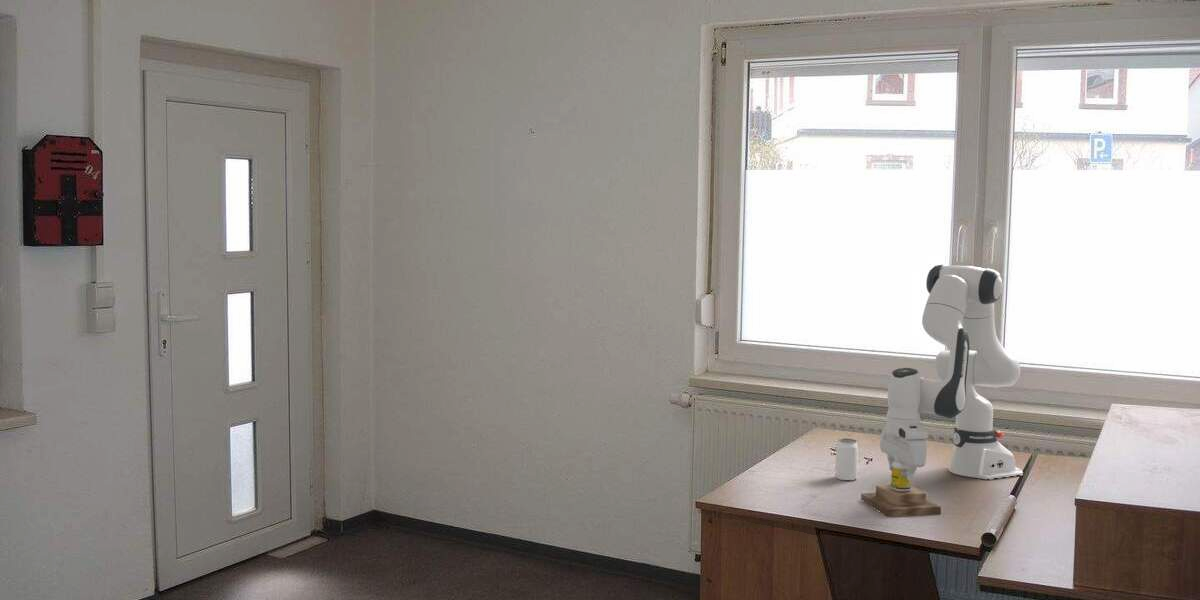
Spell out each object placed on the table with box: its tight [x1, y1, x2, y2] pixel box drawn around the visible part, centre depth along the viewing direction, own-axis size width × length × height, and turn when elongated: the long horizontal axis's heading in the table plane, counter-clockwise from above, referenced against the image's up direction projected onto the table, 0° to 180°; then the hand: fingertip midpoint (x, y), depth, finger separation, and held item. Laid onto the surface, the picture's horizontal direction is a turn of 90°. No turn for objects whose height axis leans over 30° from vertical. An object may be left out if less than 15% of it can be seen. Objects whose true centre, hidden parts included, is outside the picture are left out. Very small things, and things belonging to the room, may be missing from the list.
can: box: [835, 438, 859, 481], centre depth 323 cm, size 6×6×12 cm
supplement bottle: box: [890, 455, 912, 492], centre depth 292 cm, size 5×5×10 cm
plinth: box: [860, 484, 942, 517], centre depth 293 cm, size 16×16×5 cm
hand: (901, 475), depth 293 cm, fingers open, 8 cm apart
